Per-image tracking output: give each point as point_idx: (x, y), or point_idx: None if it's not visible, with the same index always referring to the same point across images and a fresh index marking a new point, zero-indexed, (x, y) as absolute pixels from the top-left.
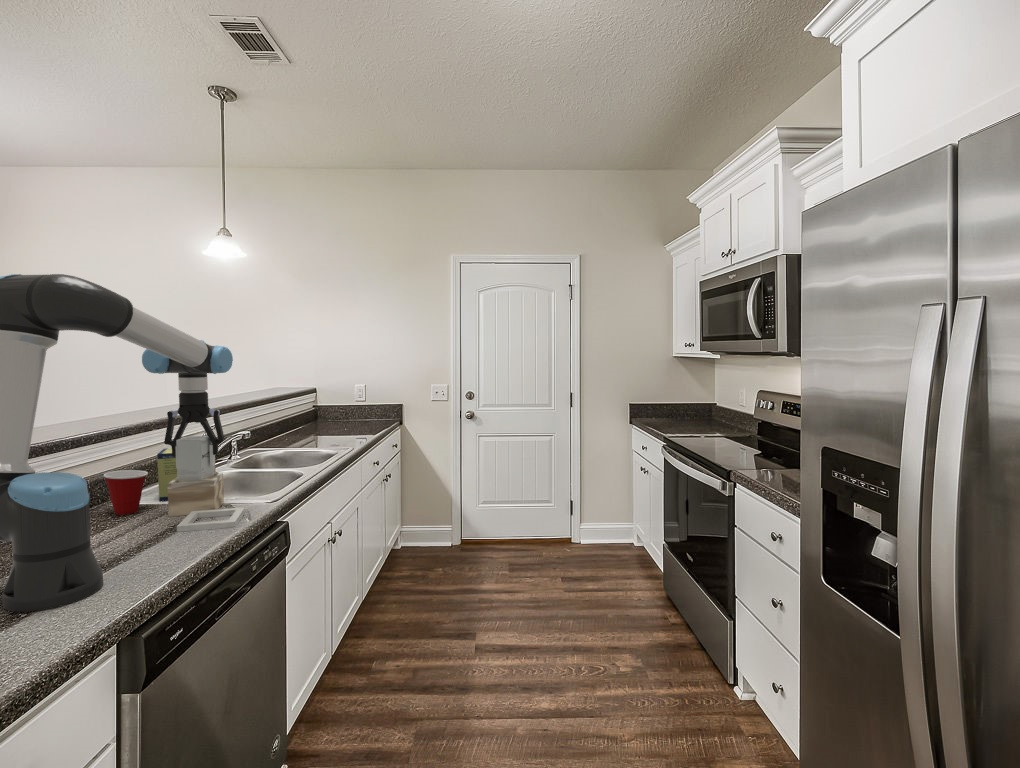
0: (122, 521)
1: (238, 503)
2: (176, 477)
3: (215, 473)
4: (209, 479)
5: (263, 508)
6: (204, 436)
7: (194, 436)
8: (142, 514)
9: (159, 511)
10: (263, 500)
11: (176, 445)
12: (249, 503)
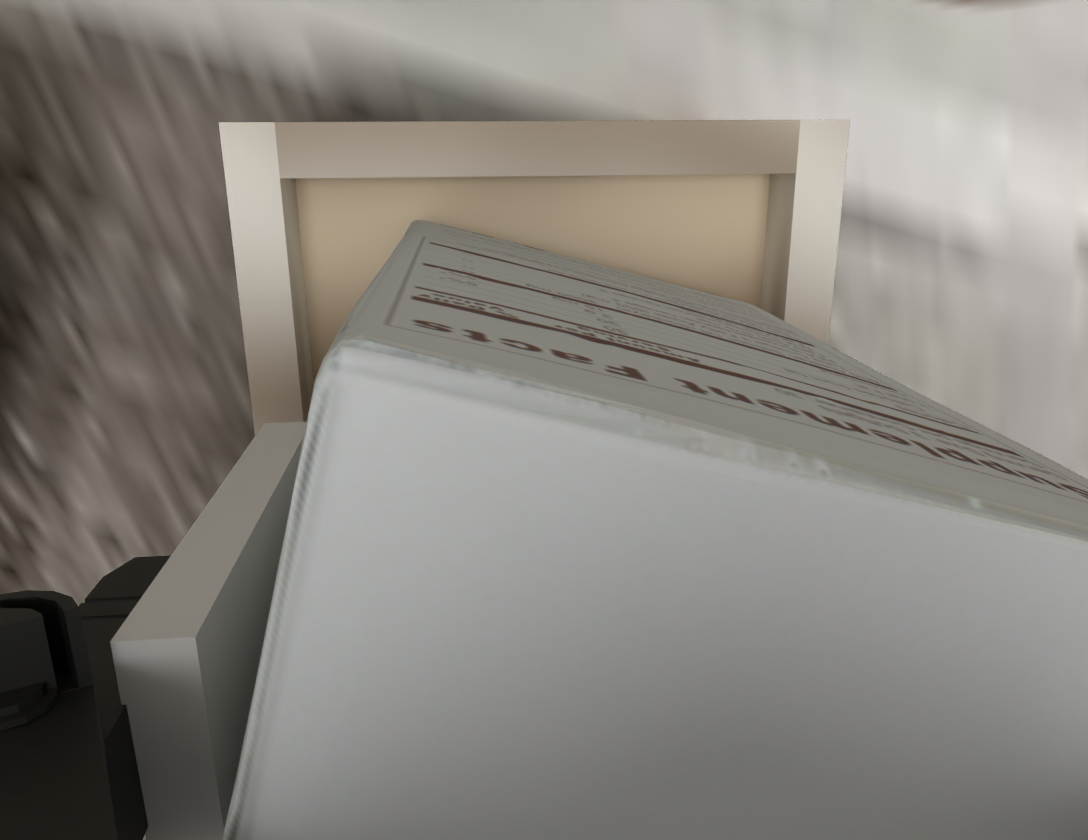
0: (3, 573)
1: (854, 223)
2: (241, 319)
3: (749, 171)
4: (659, 234)
5: (1060, 454)
6: (994, 657)
7: (570, 535)
8: (65, 395)
9: (182, 328)
10: (1072, 170)
11: (138, 828)
12: (950, 252)
